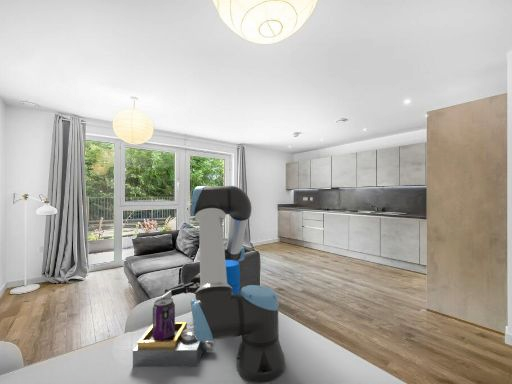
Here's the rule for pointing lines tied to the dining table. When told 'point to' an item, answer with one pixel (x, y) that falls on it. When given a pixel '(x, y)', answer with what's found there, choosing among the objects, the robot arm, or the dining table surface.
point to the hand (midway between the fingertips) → (177, 302)
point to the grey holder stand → (170, 348)
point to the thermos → (233, 275)
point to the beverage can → (163, 319)
